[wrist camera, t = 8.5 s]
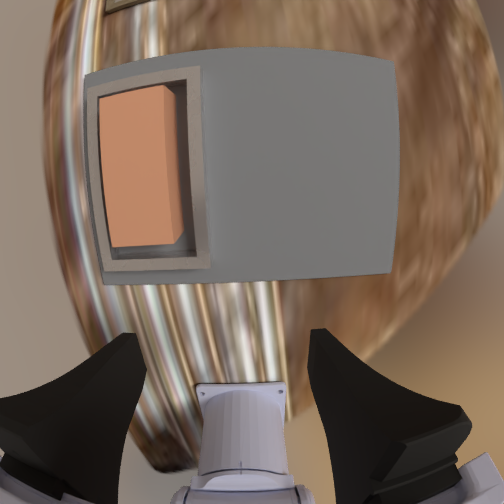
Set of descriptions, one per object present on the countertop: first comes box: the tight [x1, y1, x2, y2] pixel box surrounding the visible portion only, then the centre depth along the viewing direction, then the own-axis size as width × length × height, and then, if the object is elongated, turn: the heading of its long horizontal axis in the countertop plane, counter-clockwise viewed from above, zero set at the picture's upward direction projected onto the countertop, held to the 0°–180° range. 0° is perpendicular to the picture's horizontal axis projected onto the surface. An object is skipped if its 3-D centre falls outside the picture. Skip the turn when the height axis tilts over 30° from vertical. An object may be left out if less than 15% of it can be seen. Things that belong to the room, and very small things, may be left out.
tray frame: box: [87, 66, 213, 271], centre depth 17 cm, size 13×8×2 cm, turn 2°
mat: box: [84, 47, 400, 285], centre depth 18 cm, size 16×22×1 cm
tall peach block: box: [99, 85, 184, 247], centre depth 16 cm, size 4×9×3 cm, turn 2°
